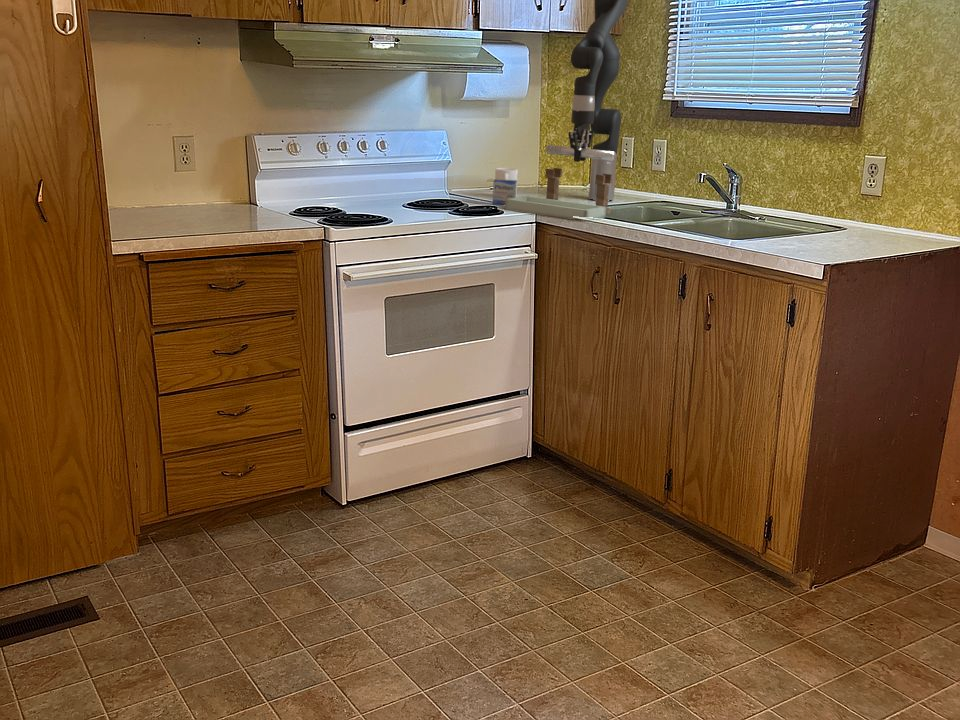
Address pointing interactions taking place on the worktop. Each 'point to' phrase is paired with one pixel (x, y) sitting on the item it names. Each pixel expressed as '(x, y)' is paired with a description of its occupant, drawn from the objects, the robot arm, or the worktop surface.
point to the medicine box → (503, 190)
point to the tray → (554, 207)
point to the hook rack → (600, 181)
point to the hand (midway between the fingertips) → (579, 160)
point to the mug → (506, 174)
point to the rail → (584, 152)
